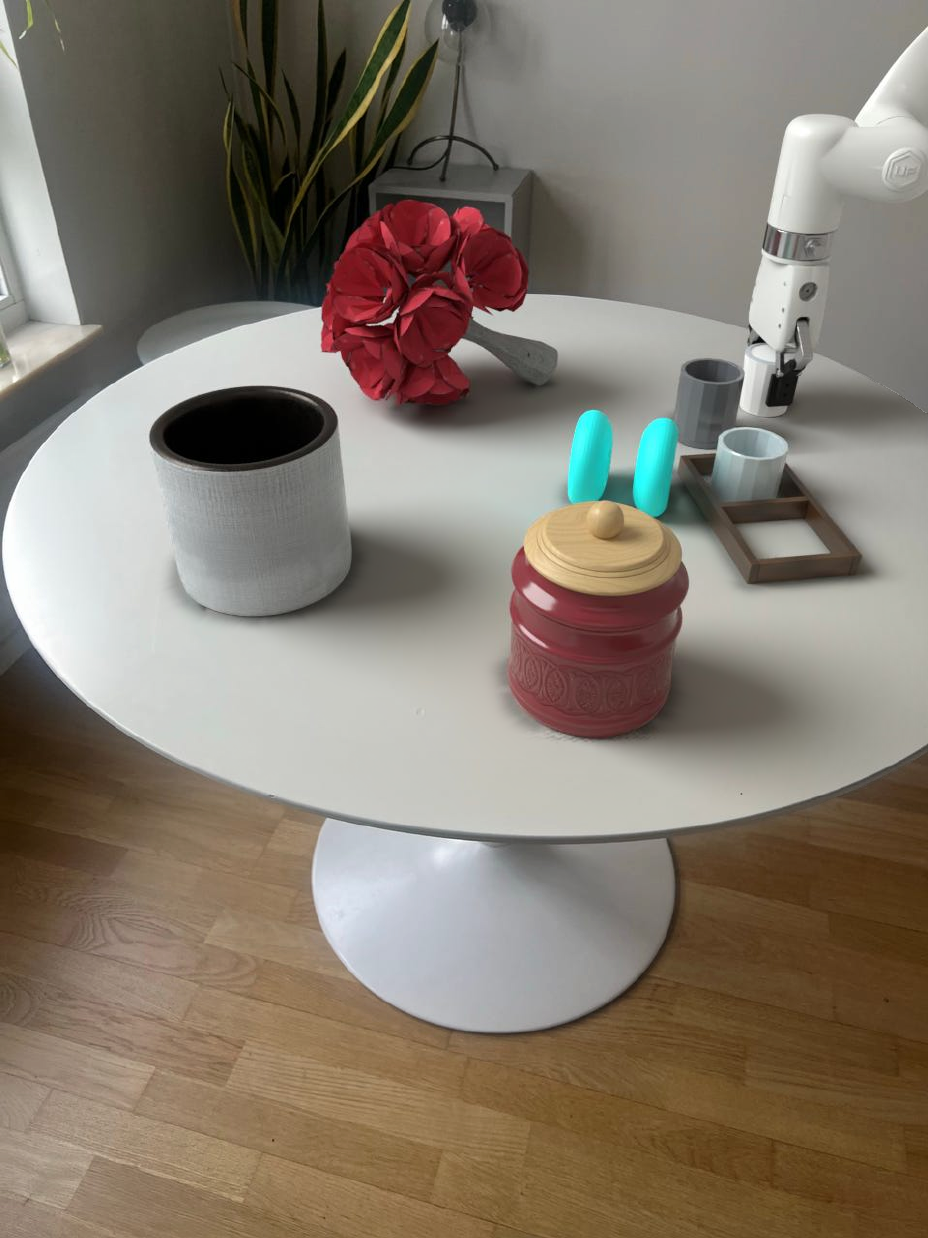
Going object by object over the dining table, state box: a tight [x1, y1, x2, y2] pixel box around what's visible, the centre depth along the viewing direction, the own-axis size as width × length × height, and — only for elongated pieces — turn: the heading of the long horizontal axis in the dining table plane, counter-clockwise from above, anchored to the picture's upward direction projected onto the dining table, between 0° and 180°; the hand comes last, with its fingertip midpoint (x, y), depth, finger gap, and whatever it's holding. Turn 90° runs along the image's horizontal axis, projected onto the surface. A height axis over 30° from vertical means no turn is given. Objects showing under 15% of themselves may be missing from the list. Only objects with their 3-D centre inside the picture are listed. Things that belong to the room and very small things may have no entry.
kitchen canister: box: [506, 500, 690, 739], centre depth 70 cm, size 13×13×18 cm
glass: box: [708, 426, 789, 503], centre depth 96 cm, size 7×7×7 cm
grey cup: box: [672, 357, 745, 450], centre depth 107 cm, size 7×7×8 cm
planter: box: [148, 385, 353, 617], centre depth 84 cm, size 16×16×16 cm
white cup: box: [739, 343, 794, 418], centre depth 114 cm, size 7×7×7 cm
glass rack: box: [677, 452, 863, 585], centre depth 93 cm, size 11×20×3 cm, turn 8°
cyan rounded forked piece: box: [567, 409, 678, 518], centre depth 95 cm, size 10×10×10 cm
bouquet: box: [320, 199, 559, 409], centre depth 113 cm, size 22×24×30 cm
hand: (766, 390), depth 114 cm, fingers closed on white cup, 6 cm apart
